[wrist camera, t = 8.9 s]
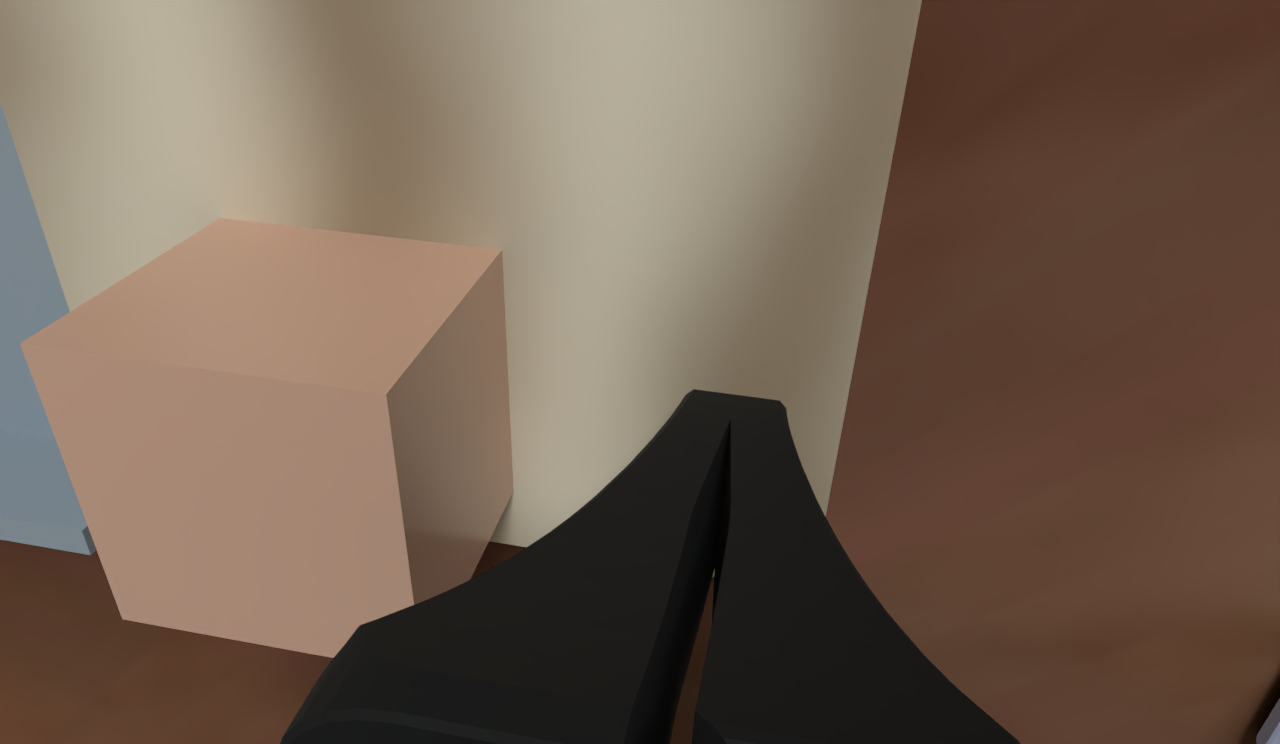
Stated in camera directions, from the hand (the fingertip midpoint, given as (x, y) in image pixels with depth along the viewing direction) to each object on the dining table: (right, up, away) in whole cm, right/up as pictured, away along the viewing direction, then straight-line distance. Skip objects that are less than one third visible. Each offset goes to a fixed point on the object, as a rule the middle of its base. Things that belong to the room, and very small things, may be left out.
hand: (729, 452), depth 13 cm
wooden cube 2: (-6, +1, +2) cm, 6 cm away
